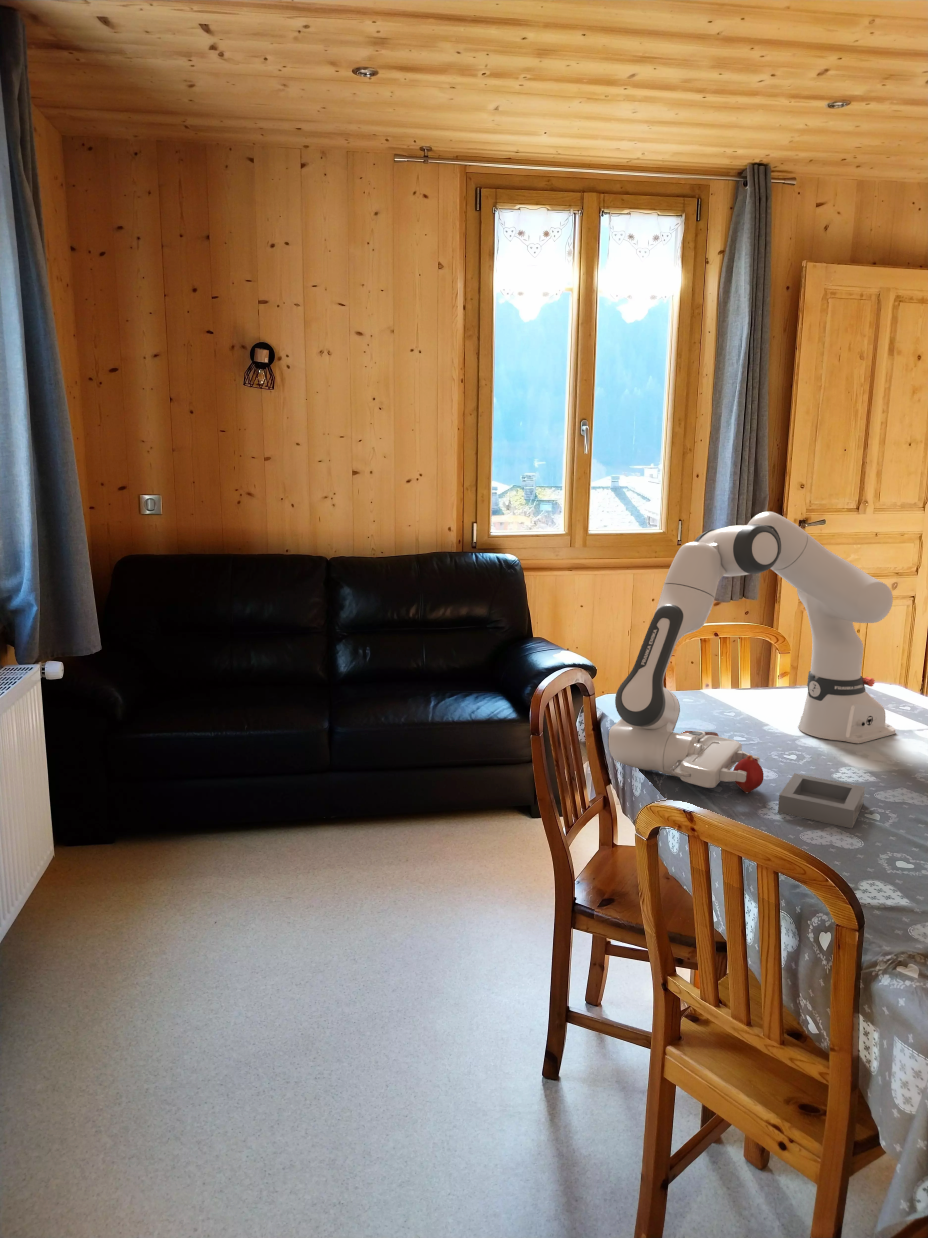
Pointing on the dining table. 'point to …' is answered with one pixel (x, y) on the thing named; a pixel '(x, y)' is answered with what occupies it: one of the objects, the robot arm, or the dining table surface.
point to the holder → (821, 800)
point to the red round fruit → (750, 774)
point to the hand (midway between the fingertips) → (752, 769)
